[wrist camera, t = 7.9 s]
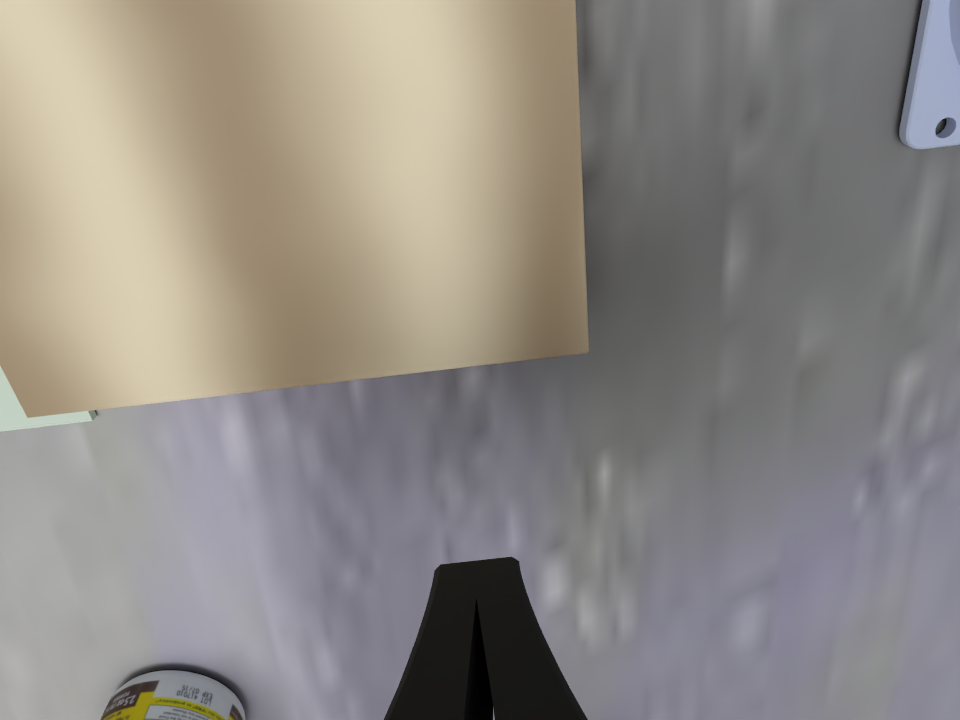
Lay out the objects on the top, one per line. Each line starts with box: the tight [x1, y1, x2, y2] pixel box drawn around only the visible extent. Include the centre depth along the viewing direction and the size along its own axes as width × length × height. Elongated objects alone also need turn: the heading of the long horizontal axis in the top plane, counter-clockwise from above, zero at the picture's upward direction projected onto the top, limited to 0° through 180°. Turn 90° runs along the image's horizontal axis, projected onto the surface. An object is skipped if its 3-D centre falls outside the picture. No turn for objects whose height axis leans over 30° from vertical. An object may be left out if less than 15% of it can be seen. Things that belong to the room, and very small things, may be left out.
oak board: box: [0, 0, 589, 418], centre depth 15 cm, size 14×14×4 cm
